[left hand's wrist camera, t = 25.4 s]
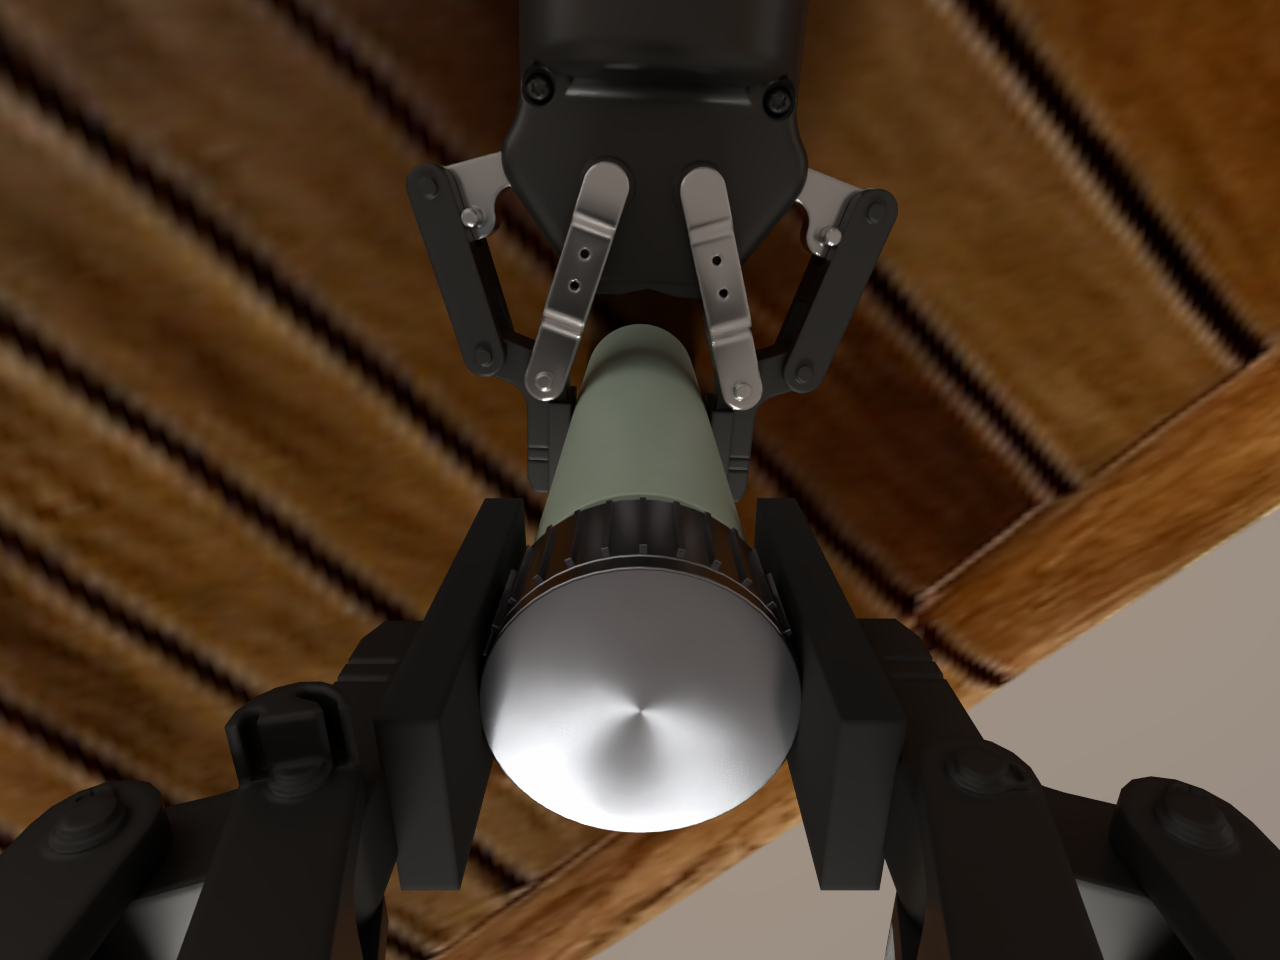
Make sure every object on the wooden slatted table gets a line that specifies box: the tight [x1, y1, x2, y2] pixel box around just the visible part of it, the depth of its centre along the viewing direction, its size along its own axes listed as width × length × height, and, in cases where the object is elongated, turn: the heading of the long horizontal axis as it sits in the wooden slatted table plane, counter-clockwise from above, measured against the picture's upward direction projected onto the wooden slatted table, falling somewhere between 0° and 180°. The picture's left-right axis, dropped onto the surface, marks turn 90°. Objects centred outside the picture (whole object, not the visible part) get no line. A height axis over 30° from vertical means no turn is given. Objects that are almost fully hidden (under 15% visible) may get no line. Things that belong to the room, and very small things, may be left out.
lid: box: [478, 497, 802, 833], centre depth 12 cm, size 5×5×2 cm
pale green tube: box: [534, 324, 747, 544], centre depth 20 cm, size 4×4×20 cm
